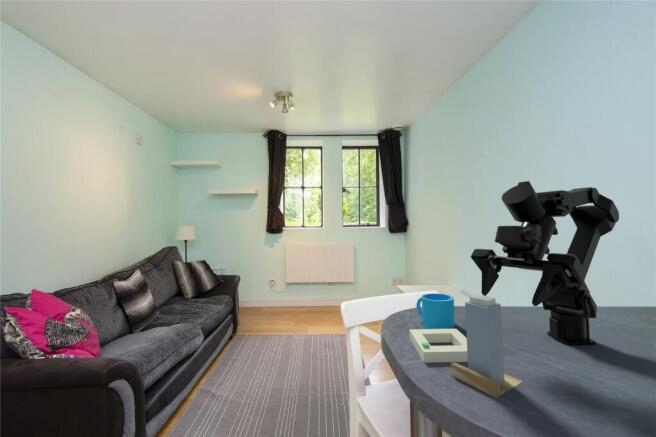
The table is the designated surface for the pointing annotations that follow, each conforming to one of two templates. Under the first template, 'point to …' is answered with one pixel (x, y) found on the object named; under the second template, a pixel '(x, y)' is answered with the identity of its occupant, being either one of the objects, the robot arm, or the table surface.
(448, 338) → the block
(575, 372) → the table surface
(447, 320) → the mug
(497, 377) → the plug
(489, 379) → the tan base plate
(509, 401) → the table surface
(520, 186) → the robot arm
